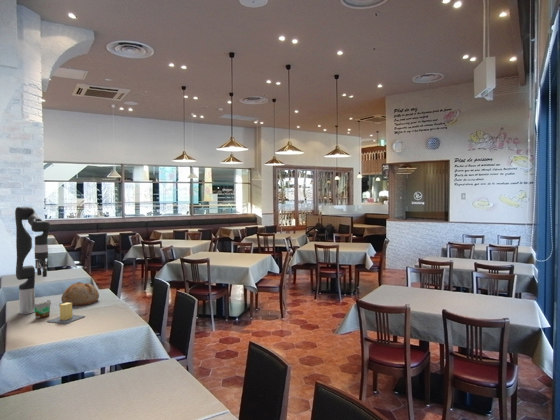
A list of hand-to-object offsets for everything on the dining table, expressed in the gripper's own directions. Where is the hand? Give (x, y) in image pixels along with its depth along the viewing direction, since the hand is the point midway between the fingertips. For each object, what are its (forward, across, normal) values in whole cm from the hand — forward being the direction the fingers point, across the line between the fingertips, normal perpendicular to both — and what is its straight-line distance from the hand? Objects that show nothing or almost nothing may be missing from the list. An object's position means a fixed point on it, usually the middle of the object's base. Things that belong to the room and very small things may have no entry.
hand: (42, 276), depth 251 cm
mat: (+30, -8, -11) cm, 33 cm away
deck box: (+30, -8, -11) cm, 32 cm away
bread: (+30, +29, -38) cm, 57 cm away
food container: (+30, +10, -5) cm, 32 cm away
